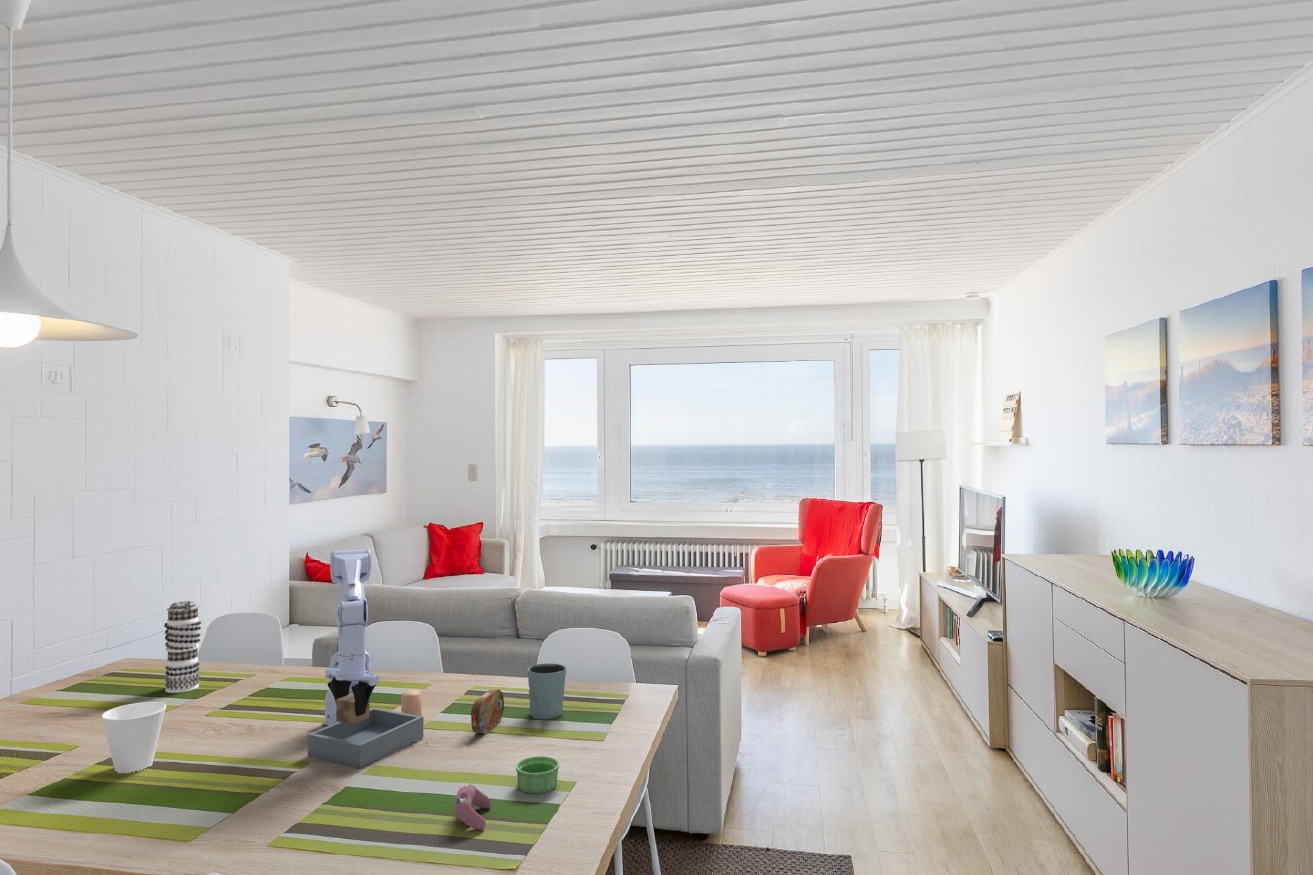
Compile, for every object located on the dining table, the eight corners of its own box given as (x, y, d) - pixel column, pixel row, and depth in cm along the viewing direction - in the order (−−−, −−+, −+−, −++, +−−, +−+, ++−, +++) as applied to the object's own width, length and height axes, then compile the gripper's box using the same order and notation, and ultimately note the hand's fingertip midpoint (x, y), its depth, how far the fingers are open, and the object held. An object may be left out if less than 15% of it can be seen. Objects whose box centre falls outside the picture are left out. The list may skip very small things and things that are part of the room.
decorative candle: (188, 693, 220) (189, 605, 220) (156, 693, 220) (157, 605, 220) (207, 683, 229) (208, 599, 229) (176, 683, 229) (177, 599, 229)
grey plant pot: (520, 716, 200) (520, 670, 200) (540, 705, 210) (540, 661, 210) (554, 722, 196) (554, 675, 197) (572, 709, 206) (573, 664, 206)
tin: (480, 739, 185) (480, 704, 185) (468, 738, 186) (468, 703, 186) (505, 717, 200) (505, 685, 200) (493, 717, 200) (493, 684, 200)
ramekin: (539, 799, 153) (539, 776, 153) (506, 788, 158) (506, 767, 158) (568, 782, 161) (568, 761, 161) (535, 773, 165) (535, 752, 166)
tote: (307, 756, 174) (307, 734, 174) (373, 727, 192) (373, 707, 193) (360, 768, 168) (360, 745, 168) (423, 737, 186) (423, 716, 186)
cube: (336, 721, 175) (336, 699, 175) (353, 714, 179) (353, 693, 179) (352, 724, 173) (352, 702, 173) (369, 717, 177) (369, 695, 177)
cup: (95, 782, 160) (96, 723, 161) (105, 762, 171) (106, 706, 171) (162, 771, 166) (163, 714, 166) (168, 752, 176) (169, 698, 177)
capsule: (396, 722, 196) (397, 694, 197) (410, 715, 201) (410, 689, 201) (412, 724, 194) (412, 697, 194) (425, 718, 199) (425, 691, 199)
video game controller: (472, 815, 149) (456, 783, 149) (493, 803, 150) (477, 772, 150) (464, 840, 140) (446, 806, 139) (487, 828, 140) (469, 794, 140)
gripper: (314, 654, 175) (314, 713, 175) (362, 661, 169) (362, 722, 169) (339, 646, 182) (338, 704, 181) (385, 653, 176) (385, 712, 176)
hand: (351, 712), depth 176 cm, fingers closed on cube, 5 cm apart
